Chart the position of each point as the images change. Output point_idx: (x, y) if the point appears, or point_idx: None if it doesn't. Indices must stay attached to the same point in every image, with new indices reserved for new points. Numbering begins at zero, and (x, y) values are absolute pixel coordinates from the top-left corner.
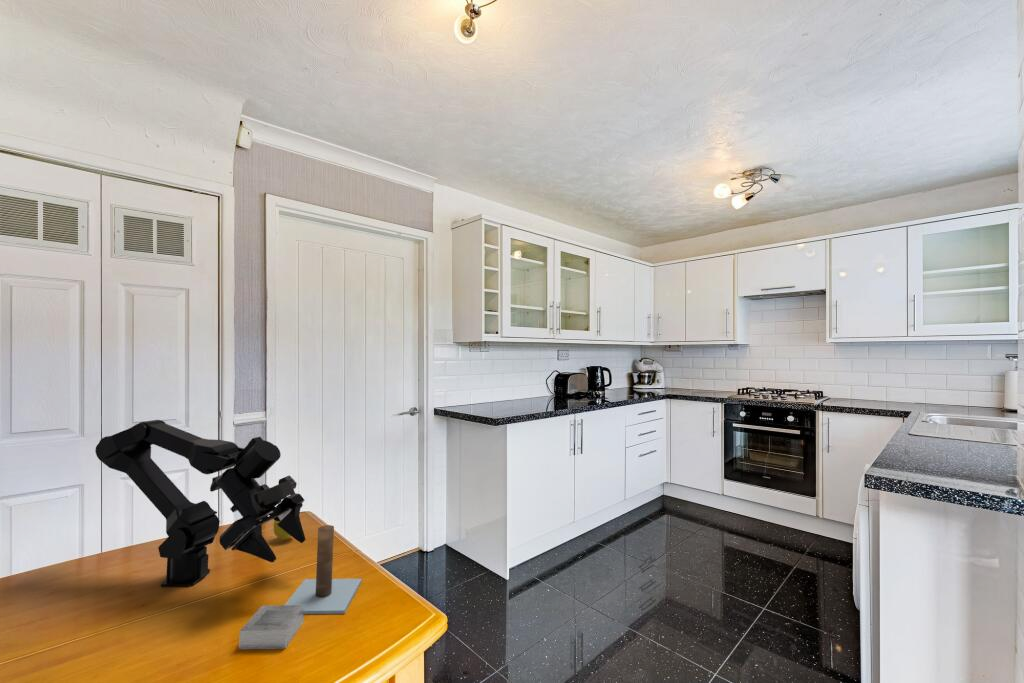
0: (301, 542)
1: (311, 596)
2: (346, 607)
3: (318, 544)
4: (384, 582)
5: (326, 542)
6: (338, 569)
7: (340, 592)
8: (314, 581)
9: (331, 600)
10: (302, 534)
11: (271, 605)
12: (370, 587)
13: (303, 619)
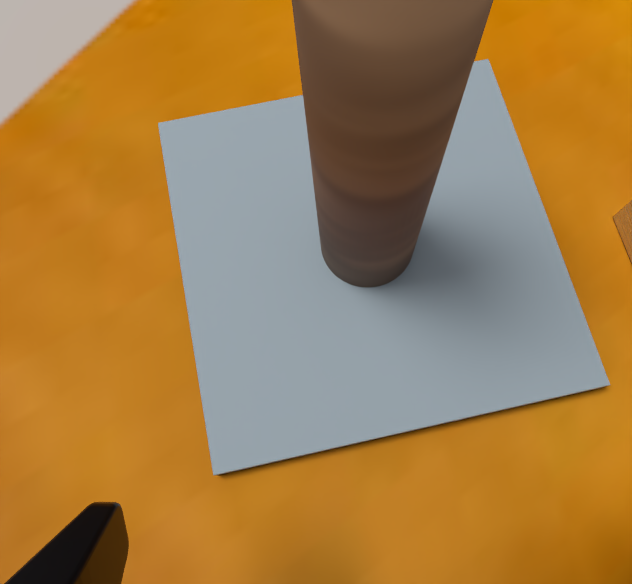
0: (124, 549)
1: (411, 296)
2: None
3: (476, 46)
4: (155, 23)
5: None
6: (17, 345)
7: None
8: (234, 387)
9: None
10: (70, 560)
11: None
12: (217, 65)
13: (618, 212)
